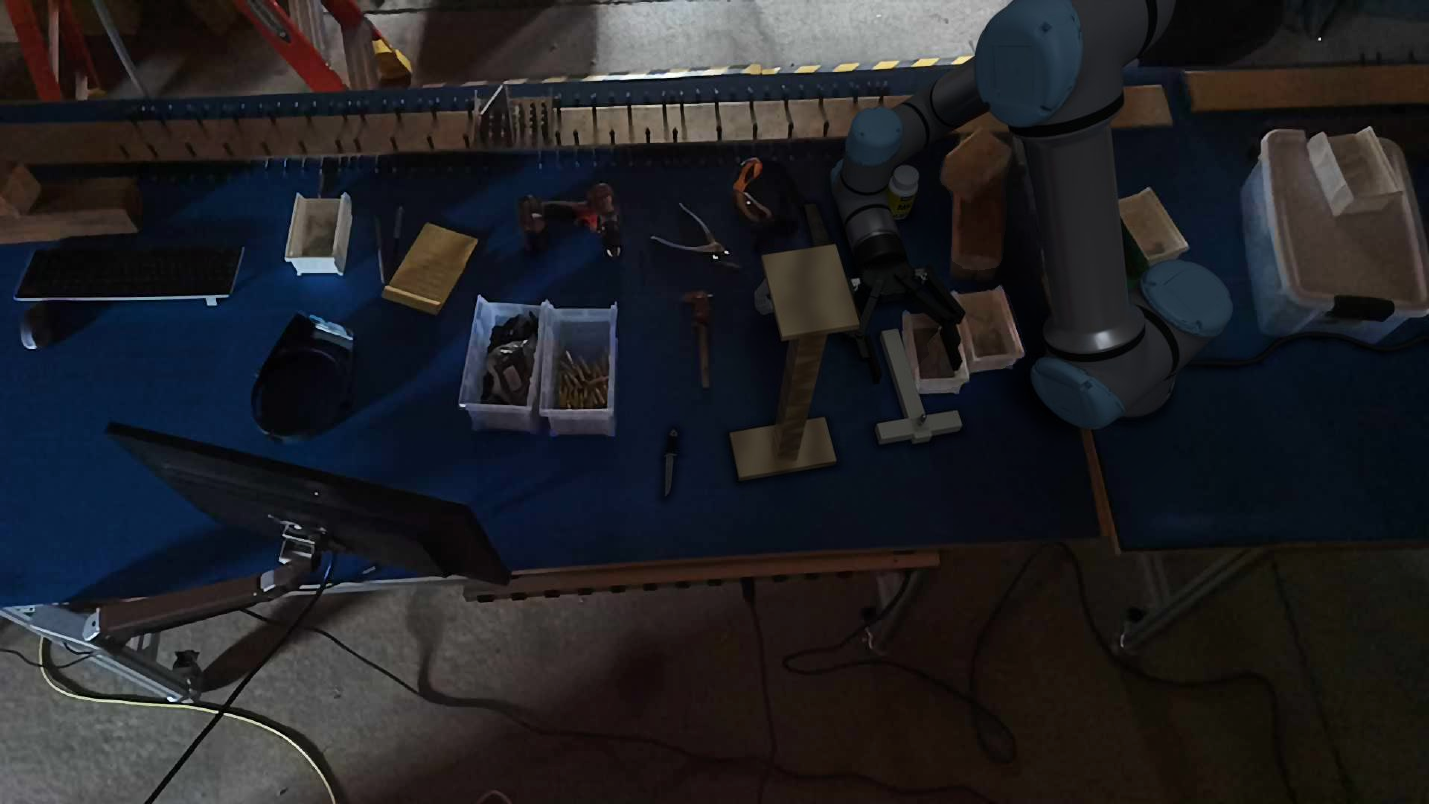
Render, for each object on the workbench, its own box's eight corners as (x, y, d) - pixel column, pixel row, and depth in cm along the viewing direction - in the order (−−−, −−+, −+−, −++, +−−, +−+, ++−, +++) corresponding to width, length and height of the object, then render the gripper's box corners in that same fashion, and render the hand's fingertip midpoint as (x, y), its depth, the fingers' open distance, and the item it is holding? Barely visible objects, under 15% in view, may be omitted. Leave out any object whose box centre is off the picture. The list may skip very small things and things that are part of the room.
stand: (819, 405, 127) (863, 239, 91) (836, 468, 122) (889, 319, 86) (726, 421, 125) (733, 259, 90) (739, 484, 121) (752, 341, 85)
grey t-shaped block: (925, 330, 132) (932, 313, 128) (960, 435, 125) (970, 421, 120) (849, 342, 131) (854, 325, 127) (880, 449, 124) (886, 435, 119)
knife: (668, 497, 120) (668, 496, 120) (655, 495, 120) (655, 494, 120) (682, 431, 125) (682, 430, 124) (670, 429, 125) (670, 428, 124)
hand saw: (788, 208, 143) (789, 206, 142) (815, 203, 143) (815, 200, 143) (834, 329, 132) (835, 326, 132) (863, 322, 133) (863, 320, 132)
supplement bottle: (894, 225, 141) (905, 191, 134) (875, 206, 143) (884, 172, 135) (916, 211, 143) (927, 176, 135) (897, 193, 144) (907, 158, 137)
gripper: (944, 250, 134) (990, 372, 125) (798, 272, 132) (833, 398, 123) (957, 219, 128) (1006, 346, 118) (803, 242, 126) (840, 373, 116)
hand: (918, 373), depth 120 cm, fingers open, 11 cm apart
